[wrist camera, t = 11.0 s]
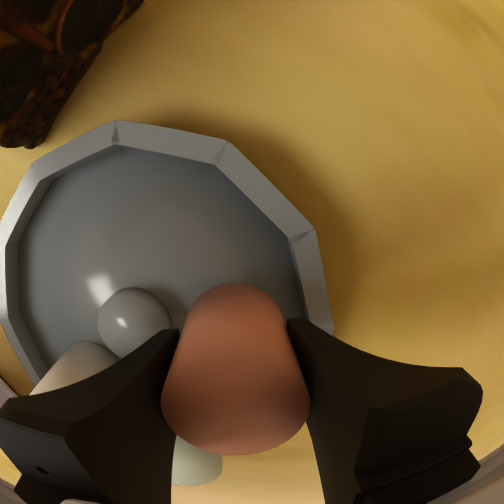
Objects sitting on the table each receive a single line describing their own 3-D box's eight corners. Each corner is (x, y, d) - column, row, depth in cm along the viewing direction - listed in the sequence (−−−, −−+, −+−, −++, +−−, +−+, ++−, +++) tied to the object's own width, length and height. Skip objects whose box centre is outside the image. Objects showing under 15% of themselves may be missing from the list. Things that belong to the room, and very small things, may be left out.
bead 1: (69, 384, 14) (33, 437, 9) (63, 331, 13) (15, 382, 8) (127, 406, 14) (102, 468, 9) (128, 354, 13) (94, 418, 9)
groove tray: (176, 459, 17) (172, 481, 15) (-12, 299, 13) (-31, 310, 11) (378, 306, 15) (397, 324, 12) (138, 66, 11) (123, 49, 9)
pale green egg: (192, 426, 15) (183, 493, 10) (137, 388, 14) (111, 453, 9) (240, 393, 14) (242, 466, 9) (180, 348, 13) (160, 419, 9)
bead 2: (301, 335, 12) (334, 415, 7) (226, 381, 12) (225, 468, 8) (244, 262, 11) (251, 321, 6) (166, 319, 12) (131, 396, 7)
